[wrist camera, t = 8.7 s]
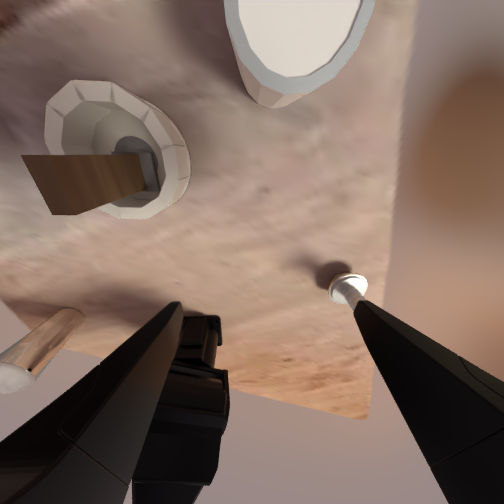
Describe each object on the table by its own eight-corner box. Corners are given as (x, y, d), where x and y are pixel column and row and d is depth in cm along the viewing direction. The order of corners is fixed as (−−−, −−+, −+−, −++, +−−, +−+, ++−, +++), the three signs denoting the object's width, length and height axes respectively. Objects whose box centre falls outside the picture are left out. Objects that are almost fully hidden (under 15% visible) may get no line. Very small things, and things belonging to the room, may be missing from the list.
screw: (333, 298, 26) (316, 279, 24) (363, 280, 25) (348, 258, 23) (402, 409, 15) (380, 390, 13) (466, 388, 13) (452, 362, 11)
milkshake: (73, 297, 24) (-25, 379, 15) (96, 323, 27) (24, 407, 18) (41, 302, 24) (-73, 386, 15) (68, 328, 27) (-17, 412, 18)
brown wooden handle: (152, 152, 16) (68, 151, 8) (161, 190, 17) (96, 218, 10) (115, 151, 15) (-6, 149, 8) (126, 189, 17) (34, 218, 10)
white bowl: (196, 209, 19) (187, 220, 16) (106, 207, 18) (78, 219, 15) (183, 98, 14) (166, 82, 11) (64, 92, 14) (12, 74, 11)
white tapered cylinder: (228, 111, 15) (218, 83, 9) (234, -18, 12) (223, -203, 6) (306, 123, 16) (347, 104, 10) (332, 3, 12) (419, -142, 6)
